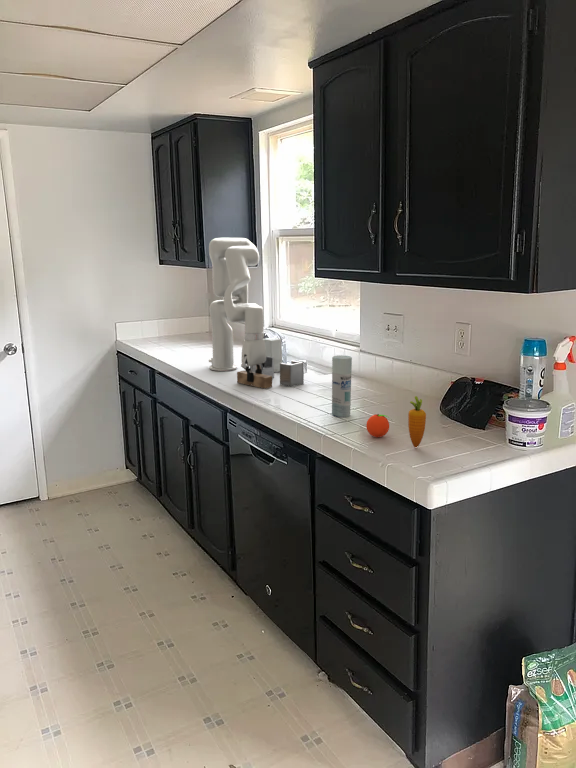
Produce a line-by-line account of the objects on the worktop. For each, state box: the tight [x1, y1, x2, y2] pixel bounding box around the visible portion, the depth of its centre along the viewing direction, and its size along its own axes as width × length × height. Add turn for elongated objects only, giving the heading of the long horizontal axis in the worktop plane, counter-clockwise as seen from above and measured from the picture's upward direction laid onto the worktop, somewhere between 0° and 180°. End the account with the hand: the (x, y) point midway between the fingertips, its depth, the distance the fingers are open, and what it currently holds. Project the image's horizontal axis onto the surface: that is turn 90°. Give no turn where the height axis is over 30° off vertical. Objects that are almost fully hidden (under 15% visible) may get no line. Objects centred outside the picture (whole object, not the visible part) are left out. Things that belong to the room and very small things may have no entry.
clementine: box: [365, 413, 392, 438], centre depth 195 cm, size 8×7×7 cm
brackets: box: [252, 356, 305, 388], centre depth 272 cm, size 23×8×9 cm, turn 47°
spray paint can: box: [331, 354, 353, 418], centre depth 218 cm, size 6×6×20 cm
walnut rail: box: [236, 370, 273, 390], centre depth 265 cm, size 16×4×4 cm, turn 49°
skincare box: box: [264, 337, 283, 373], centre depth 293 cm, size 8×6×15 cm
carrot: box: [407, 396, 427, 448], centre depth 184 cm, size 5×5×15 cm
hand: (254, 380), depth 265 cm, fingers closed on walnut rail, 4 cm apart
